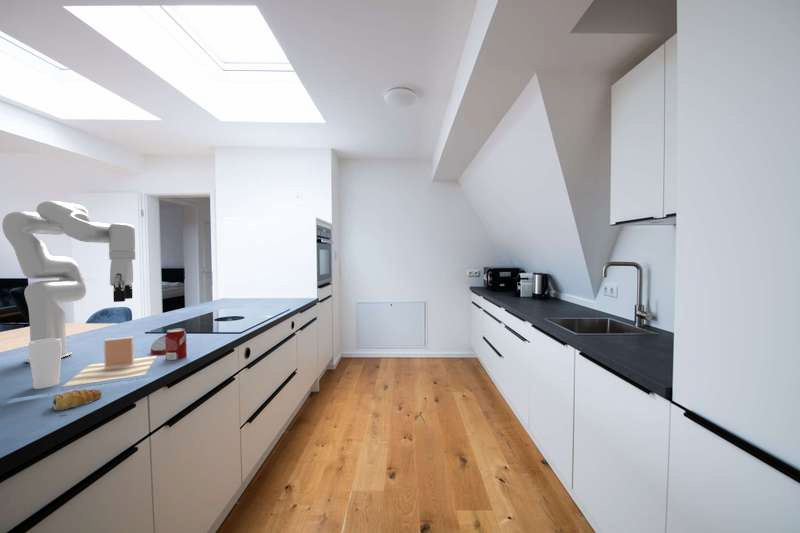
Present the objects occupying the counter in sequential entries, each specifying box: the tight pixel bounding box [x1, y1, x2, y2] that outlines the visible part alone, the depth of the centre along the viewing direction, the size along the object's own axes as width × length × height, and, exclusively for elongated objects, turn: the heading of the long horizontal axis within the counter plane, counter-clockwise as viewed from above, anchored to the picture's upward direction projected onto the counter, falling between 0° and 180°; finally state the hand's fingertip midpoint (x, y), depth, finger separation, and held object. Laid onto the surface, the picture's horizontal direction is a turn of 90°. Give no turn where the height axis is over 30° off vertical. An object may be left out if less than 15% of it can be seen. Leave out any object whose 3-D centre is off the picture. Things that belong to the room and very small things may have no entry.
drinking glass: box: [28, 338, 62, 390], centre depth 95 cm, size 7×7×15 cm
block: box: [103, 335, 135, 368], centre depth 113 cm, size 2×8×10 cm, turn 121°
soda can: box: [164, 327, 188, 361], centre depth 122 cm, size 7×7×12 cm
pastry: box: [52, 389, 102, 411], centre depth 86 cm, size 9×7×4 cm
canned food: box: [150, 334, 166, 356], centre depth 131 cm, size 11×10×10 cm
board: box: [61, 355, 158, 391], centre depth 109 cm, size 24×20×1 cm
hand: (123, 300), depth 119 cm, fingers open, 9 cm apart
